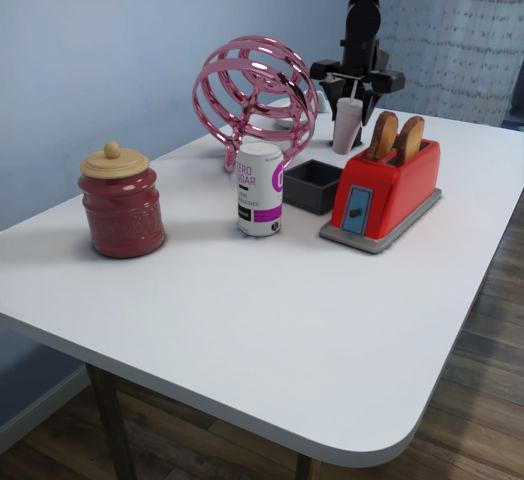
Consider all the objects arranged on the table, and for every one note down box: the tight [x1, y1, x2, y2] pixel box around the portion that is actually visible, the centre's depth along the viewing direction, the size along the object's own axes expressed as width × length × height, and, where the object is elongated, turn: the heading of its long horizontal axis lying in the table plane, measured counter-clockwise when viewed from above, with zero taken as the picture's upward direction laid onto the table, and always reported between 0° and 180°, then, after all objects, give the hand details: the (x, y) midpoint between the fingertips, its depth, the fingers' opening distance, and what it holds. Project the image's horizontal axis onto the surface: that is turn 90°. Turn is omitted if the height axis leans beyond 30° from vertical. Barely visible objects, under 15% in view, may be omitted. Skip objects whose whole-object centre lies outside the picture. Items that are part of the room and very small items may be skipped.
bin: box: [282, 158, 344, 216], centre depth 103 cm, size 12×12×5 cm
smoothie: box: [331, 80, 363, 156], centre depth 100 cm, size 6×6×14 cm
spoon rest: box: [274, 89, 327, 130], centre depth 143 cm, size 24×12×7 cm, turn 151°
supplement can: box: [235, 140, 284, 237], centre depth 89 cm, size 8×8×15 cm
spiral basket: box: [191, 34, 319, 172], centre depth 109 cm, size 28×28×27 cm
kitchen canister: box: [77, 140, 165, 259], centre depth 84 cm, size 13×13×18 cm
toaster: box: [319, 110, 443, 254], centre depth 93 cm, size 32×13×19 cm, turn 144°
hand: (350, 122), depth 101 cm, fingers closed on smoothie, 6 cm apart
